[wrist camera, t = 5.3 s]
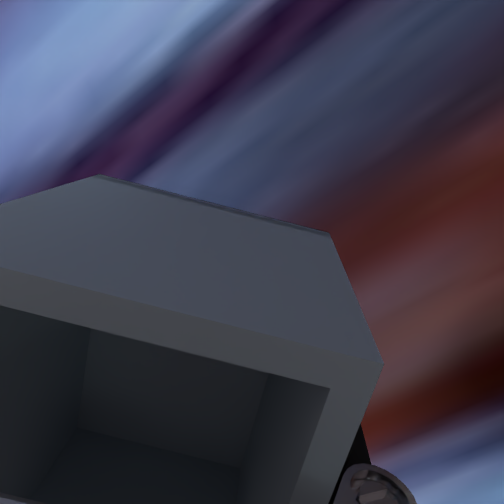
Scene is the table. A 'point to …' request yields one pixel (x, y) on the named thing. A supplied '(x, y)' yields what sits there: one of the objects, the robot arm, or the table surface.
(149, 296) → the slate crate
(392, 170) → the table surface
